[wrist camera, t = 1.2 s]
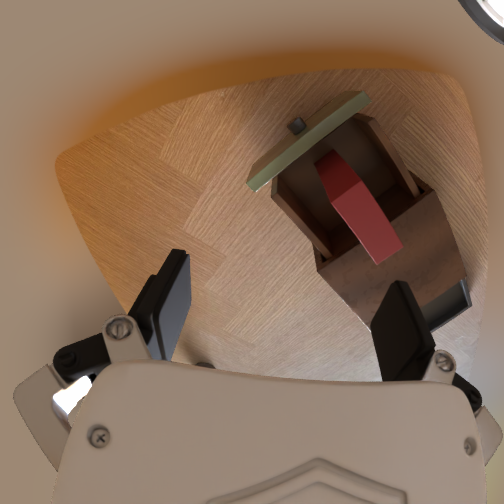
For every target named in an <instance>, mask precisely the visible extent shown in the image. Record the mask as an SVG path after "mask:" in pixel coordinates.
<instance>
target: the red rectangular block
mask: <svg viewBox="0 0 504 504" xmlns="http://www.w3.org/2000/svg"><path fill="white" fill-rule="evenodd" d="M314 166H315V168H316V170H317V172H318V175H319V177H320V179H321V181H322V184H323V186H324V188H325V190H326V193H327V195H328V197H329V200H330V202H331V204H332V205H333V206H334V208H335V209H336V210H337V211H338V213H339V214H340V215H341V217H342V218H343V219H344V221H345V222H346V223H347V224H348V226H349V227H350V228H351V230H352V231H353V232H354V234H355V235H356V236H357V238H358V239H359V241H360V242H361V243H362V245H363V246H364V247H365V249H366V250H367V252H368V253H369V254H370V256H371V257H372V259H373V260H374V262H375V263H376V264H379V263H380V262H382V261H383V260H385V259H386V258H388V257H389V256H391V255H392V254H394V253H395V252H397V251H398V250H400V249H401V248H403V247H404V246H403V244H402V242H401V241H400V239H399V237H398V235H397V234H396V232H395V230H394V229H393V227H392V225H391V224H390V222H389V221H388V219H387V217H386V216H385V214H384V213H383V211H382V209H381V208H380V206H379V205H378V203H377V202H376V200H375V199H374V197H373V196H372V194H371V193H370V191H369V190H368V188H367V187H366V185H365V184H364V183H363V181H362V180H361V179H360V177H359V176H358V175H357V174H356V173H355V172H354V170H353V169H352V168H351V167H350V166H349V165H348V164H347V163H346V161H345V160H344V159H343V158H342V157H341V156H340V155H339V154H338V153H337V152H336V151H335V150H334V149H332V150H331V151H330V152H328V153H327V154H326V155H324V156H323V157H322V158H321V159H319V160H318V161H317V162H315V163H314Z"/></svg>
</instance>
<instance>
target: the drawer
mask: <svg viewBox="0 0 504 504" xmlns="http://www.w3.org/2000/svg"><path fill="white" fill-rule="evenodd" d="M371 102H372V101H371V100H370V98H369V97H368V96H367V94H366V93H365V92H364V91H344V92H343V93H342V94H340V95H339V96H338V97H336V98H335V99H334V100H332V101H331V102H330V103H328V104H327V105H326V106H324V107H323V108H322V109H320V110H319V111H318V112H316V113H315V114H314V115H312V116H311V117H310V118H309V119H307V120H306V121H305V122H304V121H303V120H302V119H301V118H300V117H299V116H298V117H296V118H295V119H293V120H292V121H291V122H290V123H289V124H288V125H287V128H288V129H289V130H290V131H291V133H290V134H289V135H287V136H286V137H285V138H284V139H282V140H281V141H280V142H279V143H278V144H276V145H275V146H274V147H273V148H272V149H270V150H269V151H268V152H267V153H266V154H264V155H263V156H262V157H261V158H260V159H259V160H257V161H256V162H255V163H254V164H253V165H252V168H251V171H250V173H249V176H248V179H247V182H246V184H247V185H248V186H249V187H250V188H251V189H252V190H253V191H254V192H256V191H257V190H259V189H260V188H261V187H262V186H263V185H265V184H266V183H267V182H268V181H270V180H271V179H272V189H271V198H272V200H273V201H274V202H275V203H276V204H277V205H278V206H279V207H280V208H281V209H282V210H283V211H284V212H285V213H286V215H287V216H288V217H289V218H290V219H291V220H292V221H293V222H294V223H295V224H296V225H297V227H298V228H299V229H300V230H301V231H302V232H303V233H304V234H305V235H306V237H307V238H308V239H309V240H310V241H311V242H312V243H313V244H314V246H315V247H316V248H317V249H318V250H319V251H320V252H321V253H322V255H323V256H324V257H325V258H326V259H327V260H329V259H330V258H332V257H333V256H335V255H336V254H338V253H339V252H341V251H342V250H344V249H345V248H347V247H348V246H350V245H351V244H352V243H354V242H355V241H357V240H358V238H357V236H356V235H355V234H354V232H353V231H352V230H351V228H350V227H349V226H348V224H347V223H346V222H345V221H344V219H343V218H342V217H341V215H340V214H339V213H338V211H337V210H336V209H335V208H334V206H333V205H332V204H331V202H330V200H329V197H328V195H327V193H326V190H325V188H324V186H323V184H322V181H321V179H320V177H319V175H318V172H317V170H316V168H315V166H314V163H315V162H317V161H318V160H319V159H321V158H322V157H323V156H324V155H326V154H327V153H328V152H330V151H331V150H332V149H334V150H335V151H336V152H337V153H338V154H339V155H340V156H341V157H342V158H343V159H344V160H345V161H346V163H347V164H348V165H349V166H350V167H351V168H352V169H353V170H354V172H355V173H356V174H357V175H358V176H359V177H360V179H361V180H362V181H363V183H364V184H365V185H366V187H367V188H368V190H369V191H370V193H371V194H372V196H373V197H374V199H375V200H376V202H377V203H378V205H379V206H380V208H381V209H382V211H383V213H384V214H385V216H386V217H387V219H388V218H390V217H391V216H393V215H394V214H395V213H397V212H398V211H400V210H401V209H402V208H404V207H405V206H406V205H408V204H409V203H410V202H412V201H413V200H415V199H416V198H417V197H419V196H420V195H421V194H420V192H419V190H418V188H417V186H416V184H415V182H414V181H413V179H412V177H411V175H410V173H409V172H408V170H407V168H406V166H405V165H404V163H403V161H402V160H401V158H400V156H399V155H398V153H397V151H396V150H395V148H394V147H393V145H392V143H391V142H390V140H389V139H388V137H387V136H386V134H385V133H384V131H383V130H382V128H381V127H380V125H379V124H378V123H377V121H376V120H375V118H372V117H369V116H366V115H362V114H359V113H357V112H358V111H360V110H361V109H362V108H364V107H365V106H367V105H368V104H369V103H371Z"/></svg>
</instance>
